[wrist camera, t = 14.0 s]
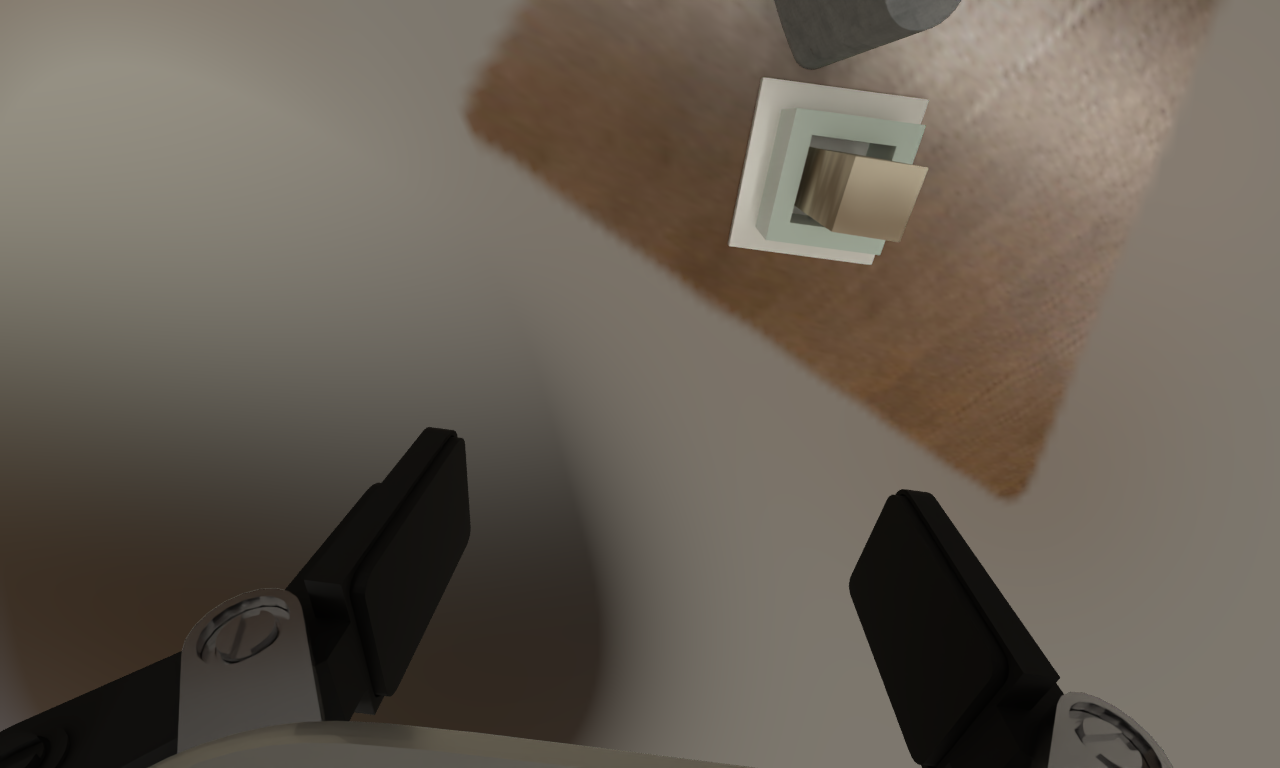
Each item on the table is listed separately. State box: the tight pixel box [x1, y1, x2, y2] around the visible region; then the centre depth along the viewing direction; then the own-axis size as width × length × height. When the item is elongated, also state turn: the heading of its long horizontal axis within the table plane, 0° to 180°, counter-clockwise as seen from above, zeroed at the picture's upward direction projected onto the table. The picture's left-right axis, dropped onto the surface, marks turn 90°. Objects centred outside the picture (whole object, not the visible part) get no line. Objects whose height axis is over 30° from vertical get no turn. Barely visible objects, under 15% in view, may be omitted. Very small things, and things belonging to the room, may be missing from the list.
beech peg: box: [794, 147, 928, 242], centre depth 33 cm, size 4×4×12 cm
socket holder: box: [728, 77, 929, 265], centre depth 36 cm, size 12×12×6 cm
